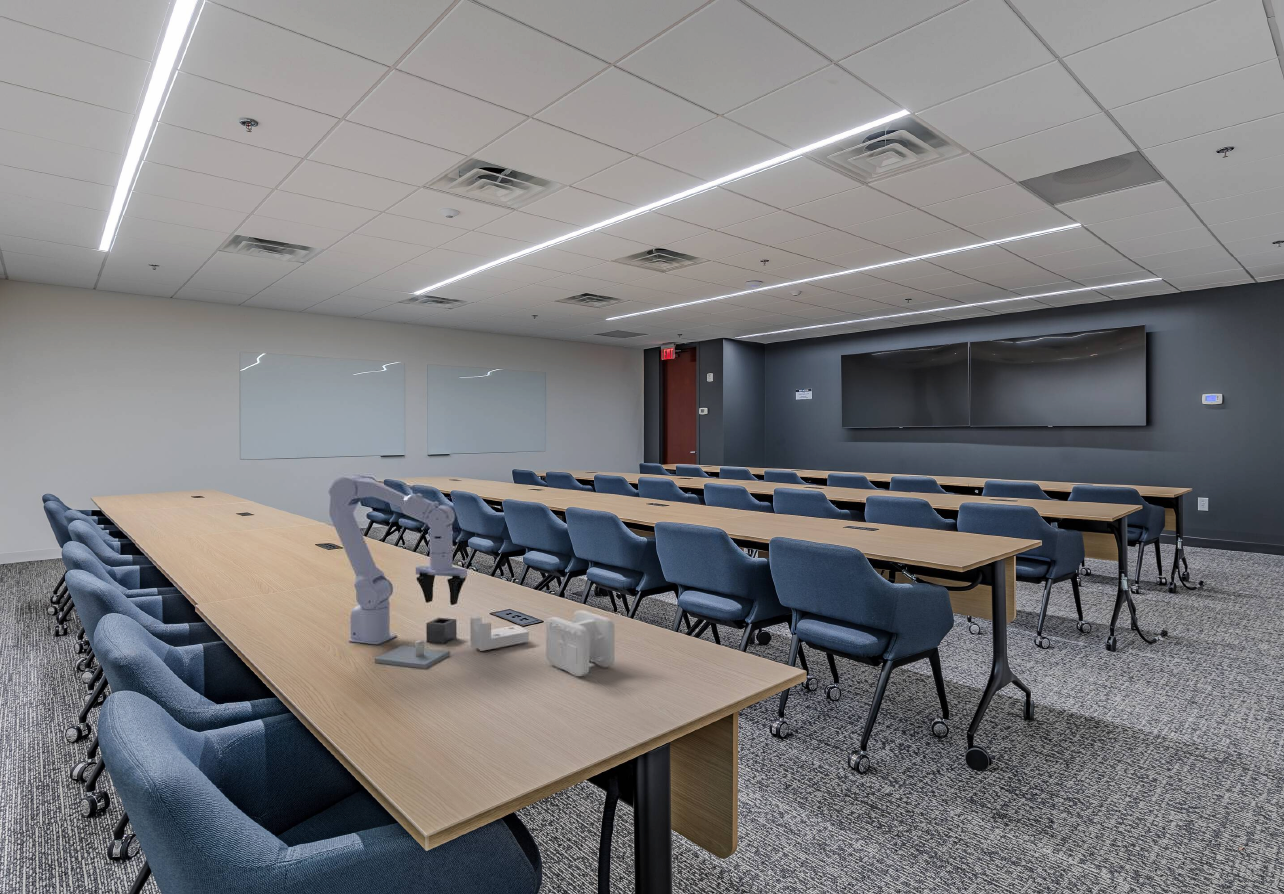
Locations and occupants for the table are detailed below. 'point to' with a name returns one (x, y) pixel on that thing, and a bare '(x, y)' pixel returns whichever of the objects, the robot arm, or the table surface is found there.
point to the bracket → (495, 635)
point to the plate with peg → (412, 656)
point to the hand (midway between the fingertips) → (441, 602)
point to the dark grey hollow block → (441, 630)
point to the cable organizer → (580, 642)
